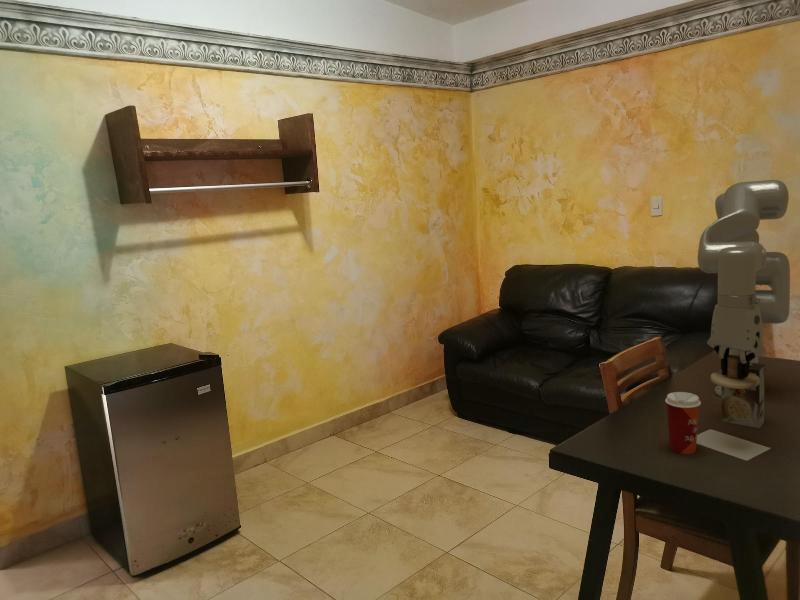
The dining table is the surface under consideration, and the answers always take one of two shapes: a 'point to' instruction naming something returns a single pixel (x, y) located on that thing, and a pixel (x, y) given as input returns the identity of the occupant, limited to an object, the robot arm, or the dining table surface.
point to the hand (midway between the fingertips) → (734, 375)
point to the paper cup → (683, 421)
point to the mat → (730, 444)
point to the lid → (734, 376)
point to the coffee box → (745, 401)
